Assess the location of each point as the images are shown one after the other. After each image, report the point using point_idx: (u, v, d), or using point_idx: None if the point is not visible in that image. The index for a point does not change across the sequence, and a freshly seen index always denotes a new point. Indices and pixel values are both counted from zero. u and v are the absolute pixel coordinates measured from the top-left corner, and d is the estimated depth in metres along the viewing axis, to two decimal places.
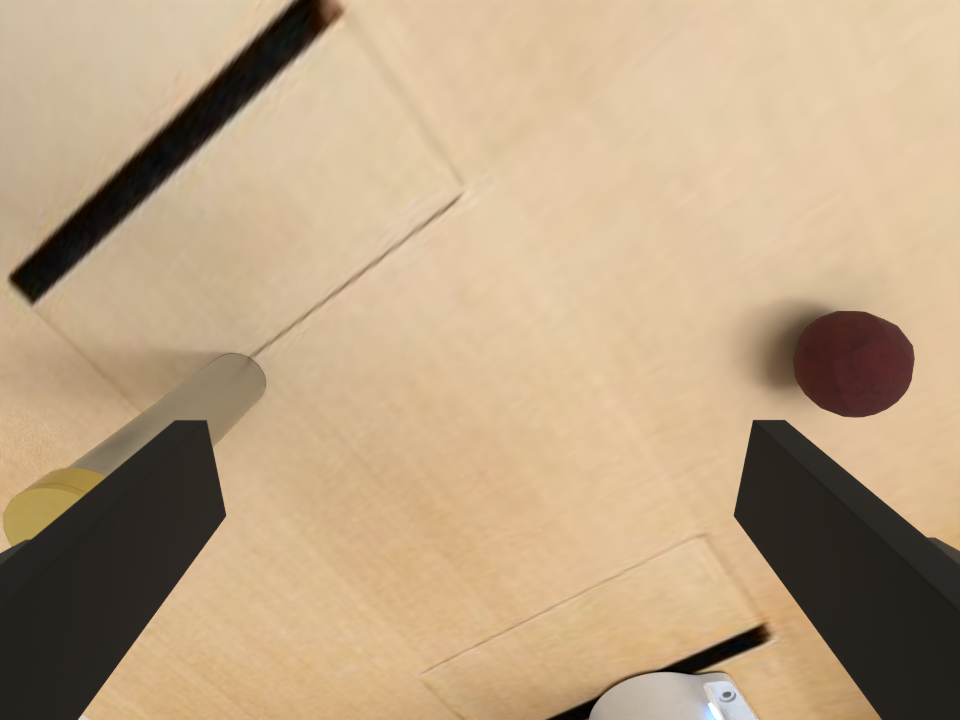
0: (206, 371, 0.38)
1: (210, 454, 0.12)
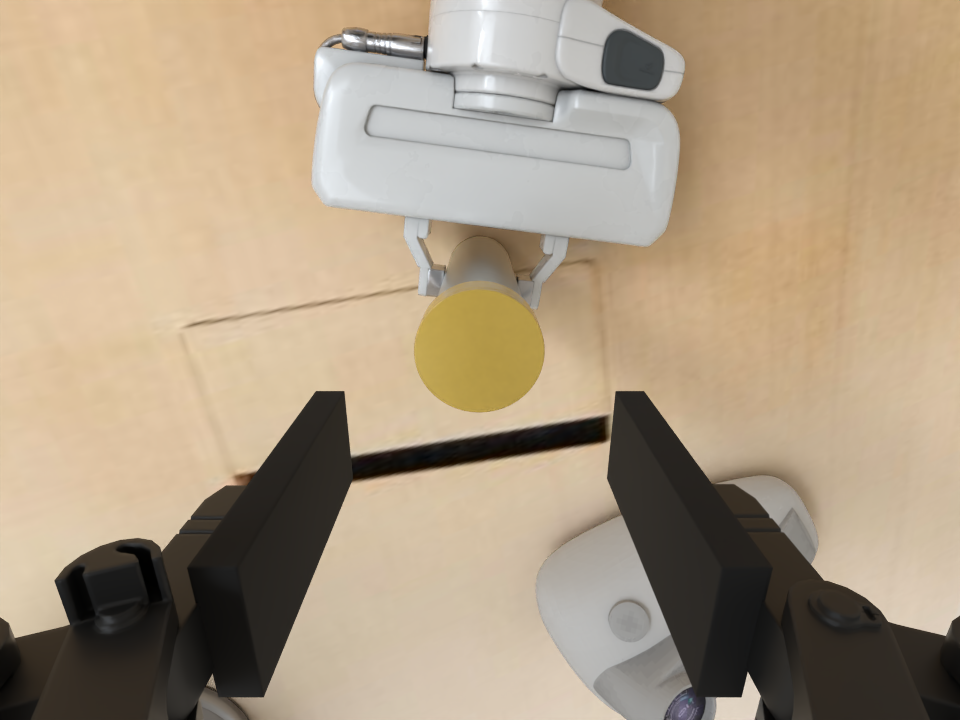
0: None
1: (345, 422, 0.14)
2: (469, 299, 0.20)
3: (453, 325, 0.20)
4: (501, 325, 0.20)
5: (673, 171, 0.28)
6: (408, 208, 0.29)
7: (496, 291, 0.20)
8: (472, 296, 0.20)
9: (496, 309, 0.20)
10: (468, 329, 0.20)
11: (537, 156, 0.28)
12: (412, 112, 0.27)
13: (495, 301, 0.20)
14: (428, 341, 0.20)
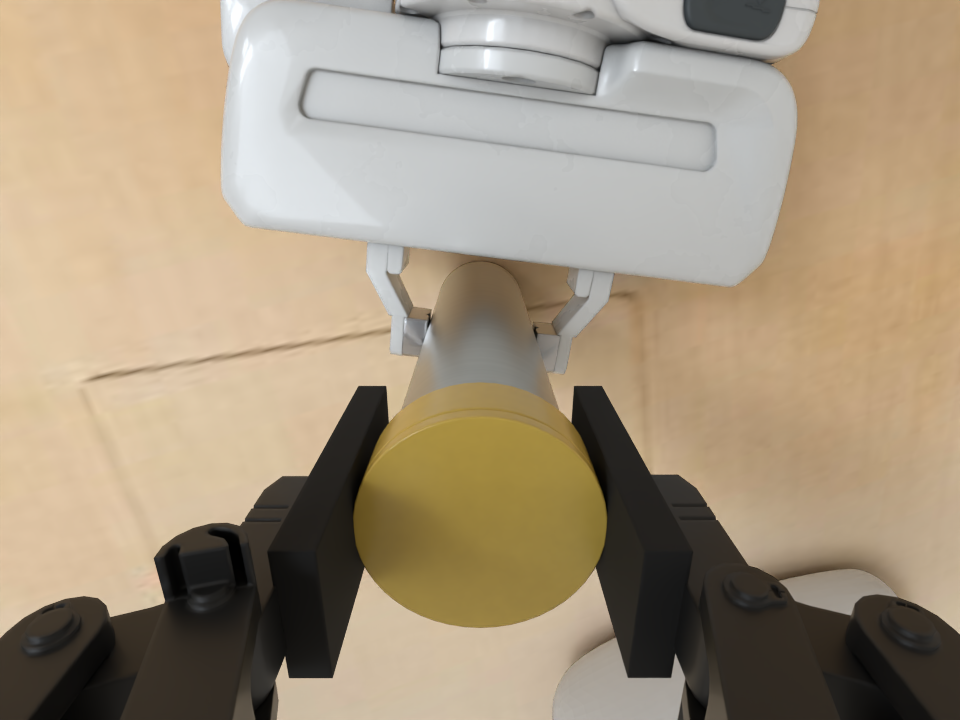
0: None
1: (387, 416, 0.14)
2: (460, 435, 0.10)
3: (428, 482, 0.10)
4: (524, 482, 0.10)
5: (783, 173, 0.18)
6: (371, 230, 0.19)
7: (515, 419, 0.10)
8: (466, 429, 0.10)
9: (514, 454, 0.10)
10: (458, 489, 0.10)
11: (569, 150, 0.18)
12: (373, 81, 0.17)
13: (512, 439, 0.10)
14: (379, 510, 0.10)
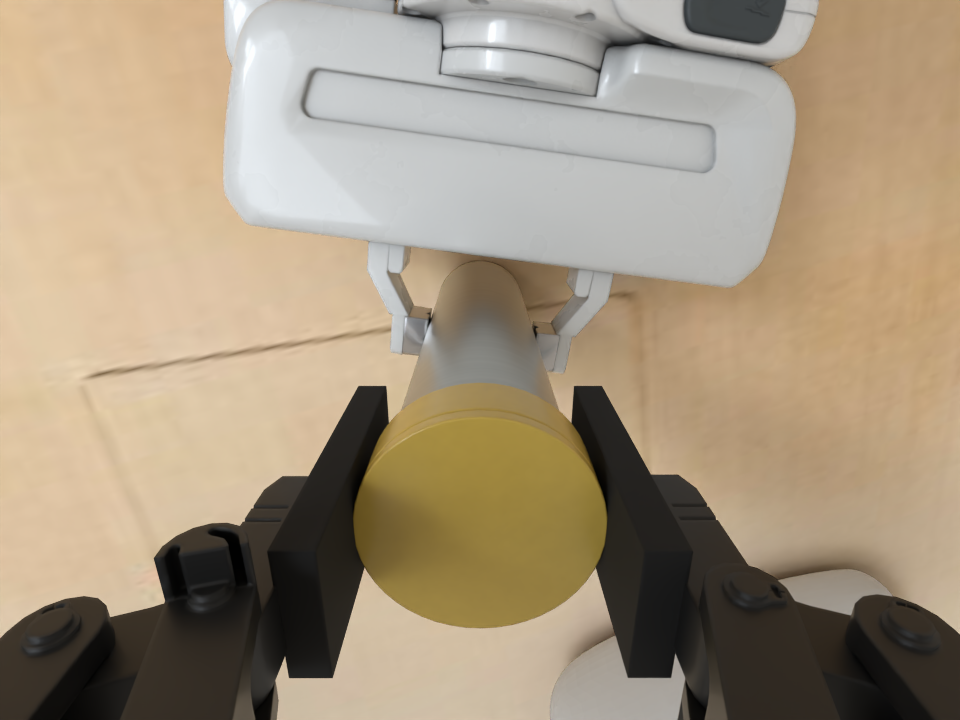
0: None
1: (387, 416, 0.14)
2: (383, 569, 0.11)
3: (439, 582, 0.11)
4: (412, 510, 0.10)
5: (782, 175, 0.18)
6: (372, 229, 0.19)
7: (354, 530, 0.11)
8: (376, 565, 0.11)
9: (384, 526, 0.10)
10: (439, 558, 0.11)
11: (569, 150, 0.18)
12: (375, 81, 0.18)
13: (371, 531, 0.11)
14: (481, 611, 0.11)
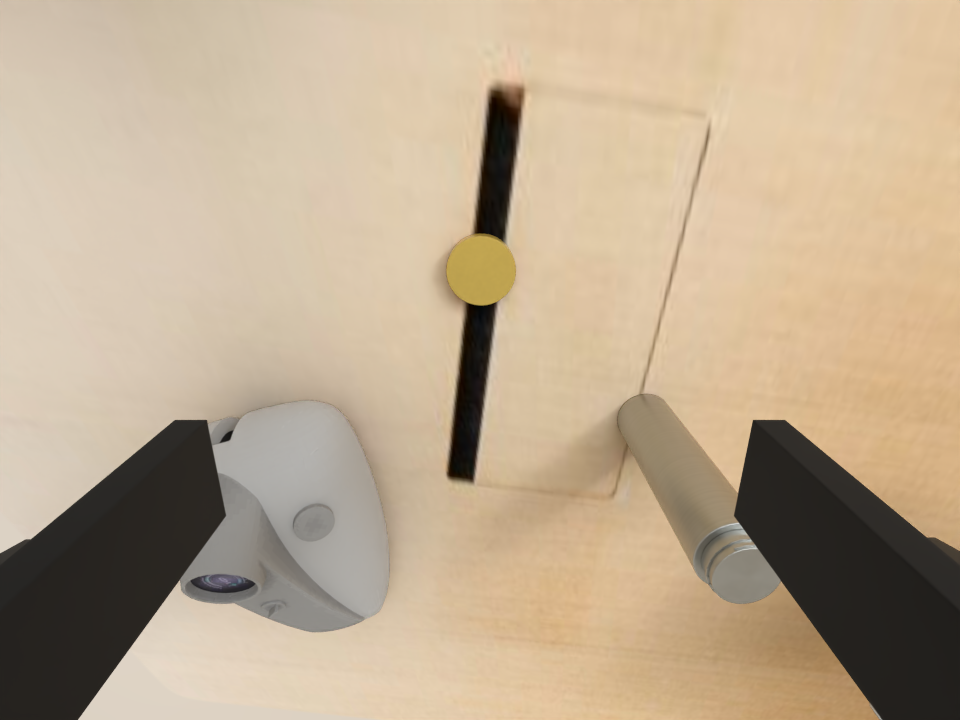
0: (637, 424, 0.41)
1: (210, 454, 0.12)
2: (497, 246, 0.38)
3: (482, 250, 0.38)
4: (500, 268, 0.39)
5: None
6: None
7: (510, 252, 0.38)
8: (500, 246, 0.38)
9: (504, 260, 0.38)
10: (486, 257, 0.38)
11: None
12: None
13: (506, 256, 0.38)
14: (466, 247, 0.38)
